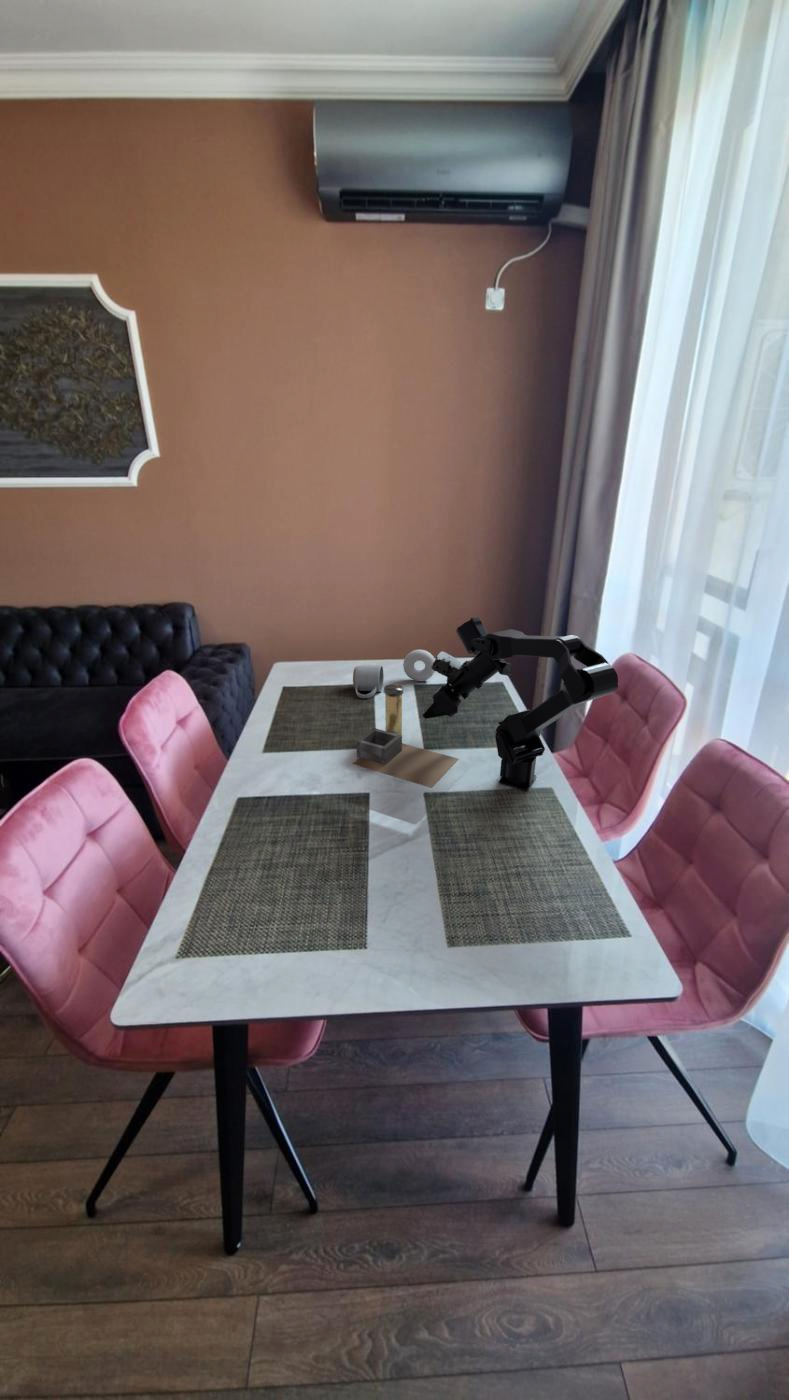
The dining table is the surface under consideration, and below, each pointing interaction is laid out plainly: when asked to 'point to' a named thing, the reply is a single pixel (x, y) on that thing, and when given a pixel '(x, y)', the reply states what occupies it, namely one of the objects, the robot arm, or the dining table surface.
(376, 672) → the ceramic mug
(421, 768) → the board with square socket
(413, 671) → the donut
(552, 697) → the robot arm
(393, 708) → the brass peg
